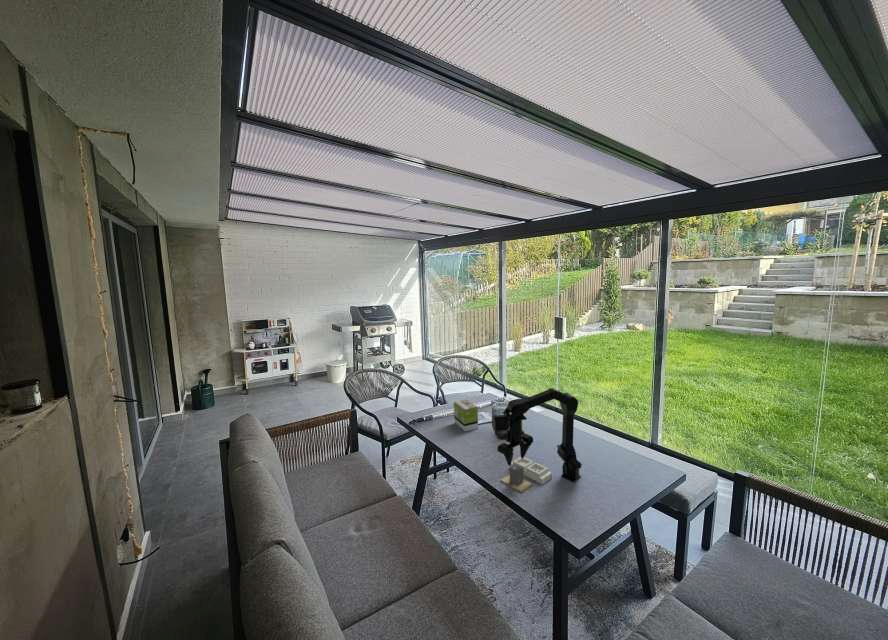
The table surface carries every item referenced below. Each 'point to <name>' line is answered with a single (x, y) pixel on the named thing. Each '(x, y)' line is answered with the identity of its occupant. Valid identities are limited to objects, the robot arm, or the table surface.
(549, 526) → the table surface
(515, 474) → the block
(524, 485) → the cork pad
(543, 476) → the power strip
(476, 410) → the tea box
